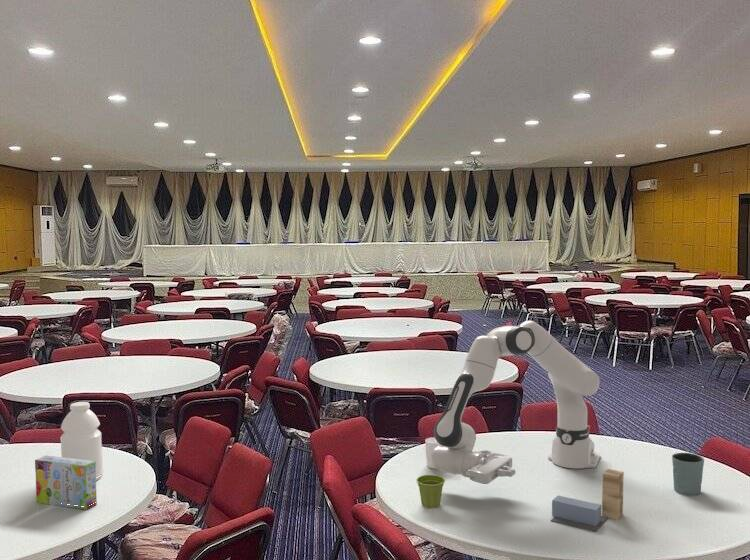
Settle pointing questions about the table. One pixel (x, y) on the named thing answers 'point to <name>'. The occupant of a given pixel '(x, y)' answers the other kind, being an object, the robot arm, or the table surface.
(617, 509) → the oak pillar
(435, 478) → the plant pot
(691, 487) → the teal embossed cup
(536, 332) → the robot arm
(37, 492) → the snack box
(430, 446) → the white cup
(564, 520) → the mat
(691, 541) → the table surface
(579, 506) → the slate pillar
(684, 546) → the table surface
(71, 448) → the bottle
